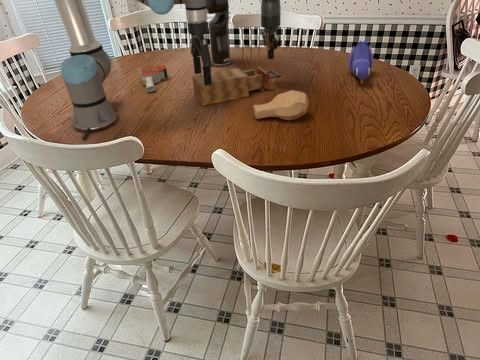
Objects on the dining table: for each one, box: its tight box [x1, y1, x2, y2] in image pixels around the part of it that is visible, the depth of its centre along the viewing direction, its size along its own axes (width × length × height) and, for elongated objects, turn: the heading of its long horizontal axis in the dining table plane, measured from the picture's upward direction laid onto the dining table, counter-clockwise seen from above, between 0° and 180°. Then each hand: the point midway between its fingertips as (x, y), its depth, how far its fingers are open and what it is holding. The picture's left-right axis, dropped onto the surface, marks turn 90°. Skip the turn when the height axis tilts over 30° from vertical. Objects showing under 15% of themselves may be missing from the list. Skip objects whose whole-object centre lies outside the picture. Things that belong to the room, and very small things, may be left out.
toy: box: [347, 40, 374, 85], centre depth 151 cm, size 10×17×25 cm
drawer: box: [242, 66, 281, 92], centre depth 149 cm, size 24×10×6 cm, turn 112°
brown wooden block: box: [191, 67, 250, 106], centre depth 145 cm, size 20×11×8 cm, turn 112°
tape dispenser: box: [137, 64, 169, 93], centre depth 162 cm, size 18×5×20 cm
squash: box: [252, 89, 310, 121], centre depth 127 cm, size 11×20×9 cm, turn 92°
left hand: (202, 78), depth 141 cm, fingers open, 13 cm apart
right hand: (270, 58), depth 147 cm, fingers closed
